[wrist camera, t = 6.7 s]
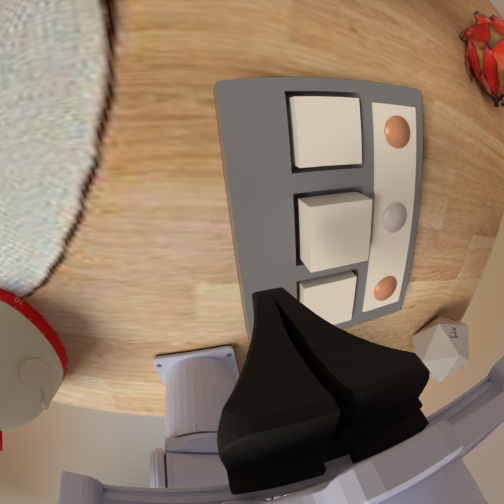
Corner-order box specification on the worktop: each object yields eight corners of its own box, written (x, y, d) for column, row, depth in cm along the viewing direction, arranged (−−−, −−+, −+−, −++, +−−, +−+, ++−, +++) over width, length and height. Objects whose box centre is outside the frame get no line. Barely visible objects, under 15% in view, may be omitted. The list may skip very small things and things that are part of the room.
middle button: (354, 248, 20) (368, 260, 18) (300, 258, 20) (310, 272, 18) (356, 191, 18) (372, 199, 16) (298, 198, 18) (309, 207, 16)
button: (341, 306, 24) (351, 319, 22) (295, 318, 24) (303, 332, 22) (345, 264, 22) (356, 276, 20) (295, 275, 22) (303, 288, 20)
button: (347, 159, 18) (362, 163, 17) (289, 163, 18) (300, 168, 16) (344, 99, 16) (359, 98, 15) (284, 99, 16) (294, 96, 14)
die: (450, 315, 34) (487, 320, 24) (440, 369, 33) (473, 386, 23) (407, 312, 35) (440, 318, 25) (397, 370, 34) (425, 390, 24)
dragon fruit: (464, 19, 16) (455, 95, 22) (458, -15, 10) (451, 76, 16) (524, 44, 11) (515, 125, 17) (532, 16, 5) (529, 115, 12)
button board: (385, 293, 27) (403, 311, 24) (245, 328, 25) (252, 354, 22) (397, 91, 18) (423, 90, 15) (213, 88, 16) (216, 80, 13)
